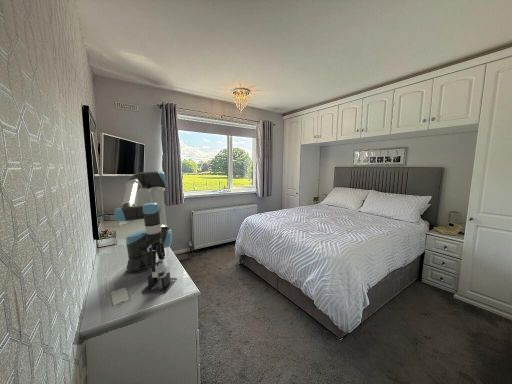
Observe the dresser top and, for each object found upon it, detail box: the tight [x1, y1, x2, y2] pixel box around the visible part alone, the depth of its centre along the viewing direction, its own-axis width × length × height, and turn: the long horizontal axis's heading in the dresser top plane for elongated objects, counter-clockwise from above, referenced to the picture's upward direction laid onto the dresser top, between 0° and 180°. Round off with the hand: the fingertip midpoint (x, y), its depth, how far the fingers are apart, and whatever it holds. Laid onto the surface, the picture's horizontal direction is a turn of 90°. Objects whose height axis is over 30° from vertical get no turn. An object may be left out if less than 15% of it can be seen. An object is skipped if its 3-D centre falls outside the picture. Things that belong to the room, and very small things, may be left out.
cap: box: [154, 261, 166, 278], centre depth 114 cm, size 6×6×6 cm
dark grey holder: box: [141, 272, 178, 294], centre depth 116 cm, size 13×13×6 cm
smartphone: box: [109, 287, 131, 307], centre depth 108 cm, size 7×1×15 cm
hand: (158, 273), depth 115 cm, fingers closed on cap, 6 cm apart
